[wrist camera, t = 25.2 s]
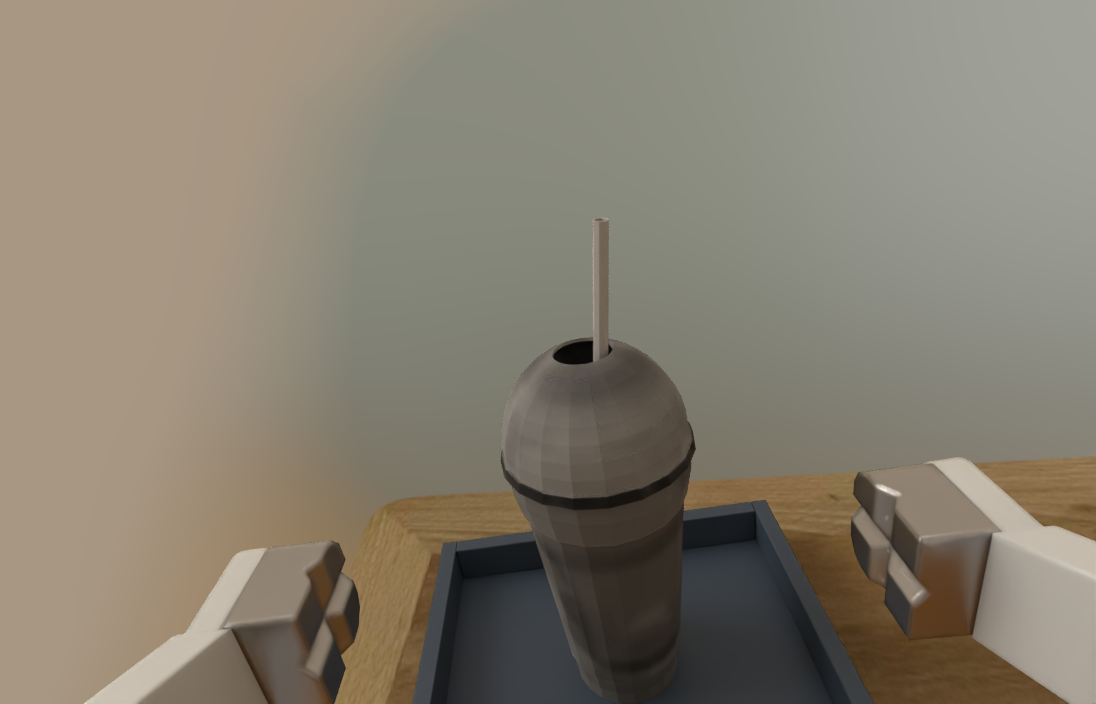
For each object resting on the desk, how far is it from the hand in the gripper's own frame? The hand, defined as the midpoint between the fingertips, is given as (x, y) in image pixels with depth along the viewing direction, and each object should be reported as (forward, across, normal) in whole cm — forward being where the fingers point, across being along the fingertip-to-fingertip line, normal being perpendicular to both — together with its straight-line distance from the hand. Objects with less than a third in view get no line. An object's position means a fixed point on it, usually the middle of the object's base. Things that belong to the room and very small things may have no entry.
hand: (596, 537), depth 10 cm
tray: (+12, 0, +18) cm, 22 cm away
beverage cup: (+12, 0, +18) cm, 22 cm away
